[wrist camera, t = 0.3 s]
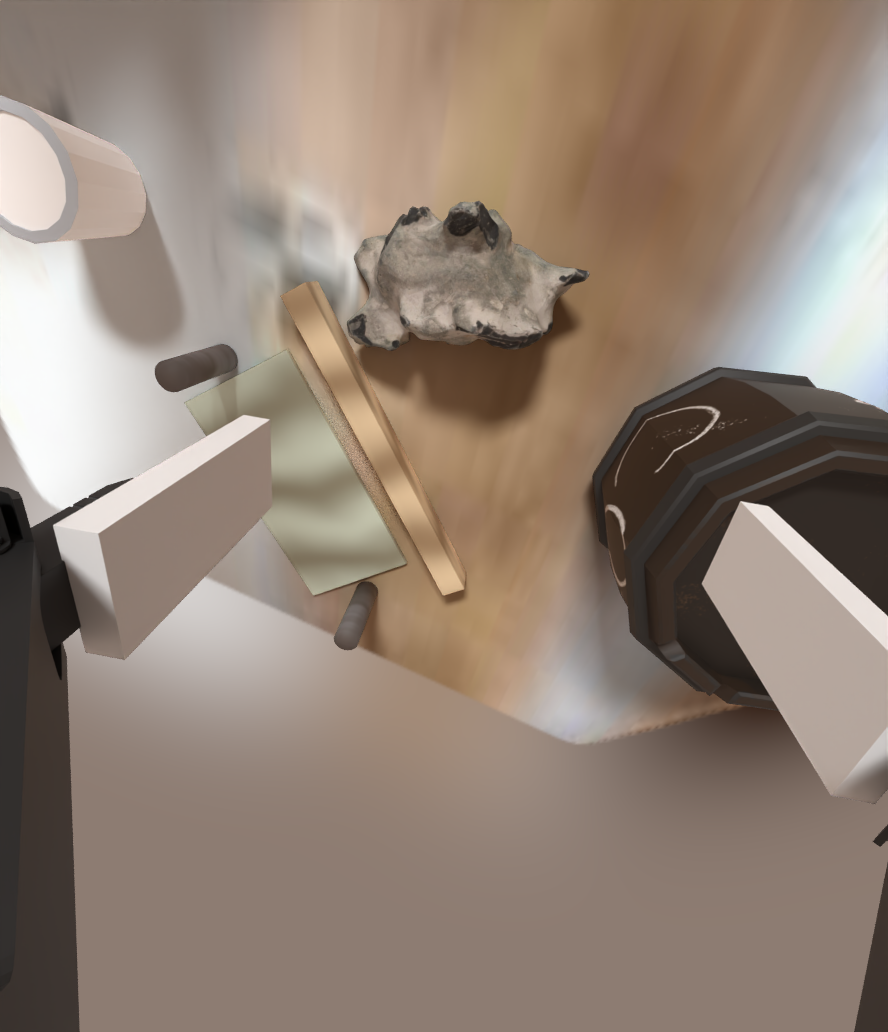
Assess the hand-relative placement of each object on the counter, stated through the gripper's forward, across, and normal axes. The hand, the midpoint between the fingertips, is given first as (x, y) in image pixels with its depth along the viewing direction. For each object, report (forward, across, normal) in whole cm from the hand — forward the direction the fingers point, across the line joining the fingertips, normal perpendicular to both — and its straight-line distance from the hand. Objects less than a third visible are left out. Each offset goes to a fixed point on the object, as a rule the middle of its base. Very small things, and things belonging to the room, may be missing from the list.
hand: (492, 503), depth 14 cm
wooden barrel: (+25, +17, -7) cm, 31 cm away
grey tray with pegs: (+24, -13, -12) cm, 30 cm away
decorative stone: (+25, -4, +4) cm, 26 cm away
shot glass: (+25, -28, +7) cm, 38 cm away
